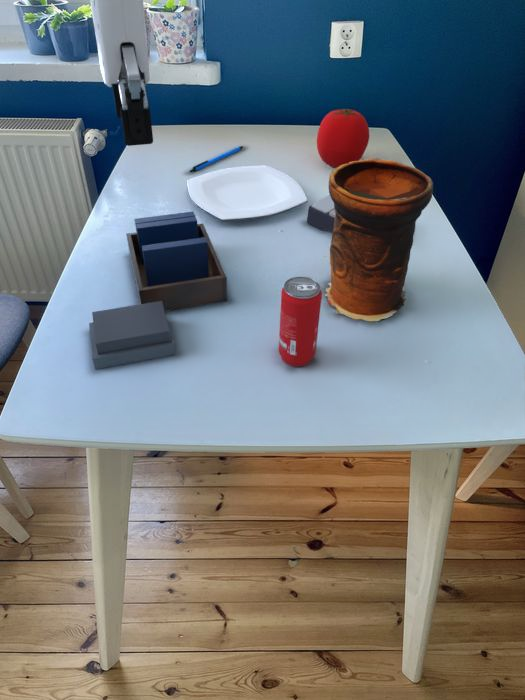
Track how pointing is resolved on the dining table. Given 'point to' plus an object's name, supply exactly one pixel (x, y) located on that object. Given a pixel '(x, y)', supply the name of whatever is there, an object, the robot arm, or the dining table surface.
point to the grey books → (130, 335)
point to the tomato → (342, 137)
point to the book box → (183, 291)
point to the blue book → (176, 261)
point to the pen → (215, 159)
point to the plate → (245, 192)
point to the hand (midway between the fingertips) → (134, 129)
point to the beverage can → (299, 320)
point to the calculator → (322, 214)
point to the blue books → (165, 229)
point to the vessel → (373, 235)
